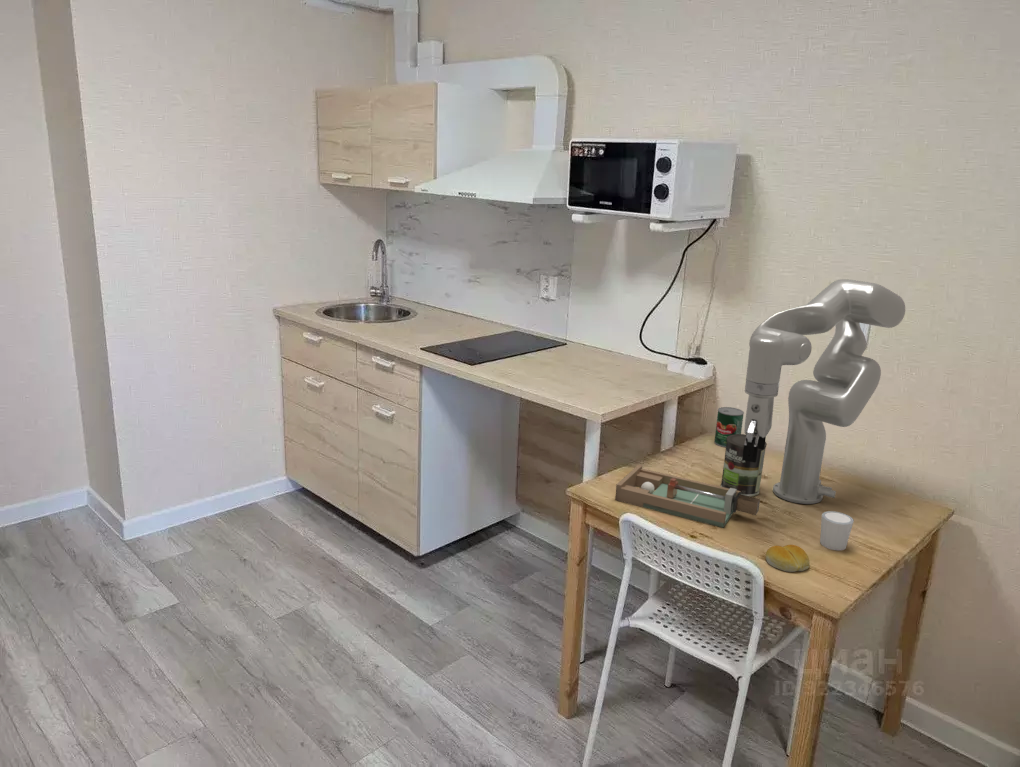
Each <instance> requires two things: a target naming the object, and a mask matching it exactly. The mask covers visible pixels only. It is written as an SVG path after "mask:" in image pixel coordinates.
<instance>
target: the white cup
mask: <svg viewBox="0 0 1020 767" xmlns="http://www.w3.org/2000/svg"><path fill="white" fill-rule="evenodd" d="M820 520H821V523H820V539H819V541H820V542H819V543H820V544H821V545H822V547H824V548H826V549H829V550H831V551H844V550H846V549H847V545H848V543H849V542H848V541H849V538H850V535H851V531H852V528H853V525H854V522H855V521H854V519H853V517H852V516H850V515H848V514H845V513H843V512H840V511H835V510H830V511H829V510H828V511H825V512H822V514H821V519H820Z"/></svg>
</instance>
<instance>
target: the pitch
mask: <svg viewBox="0 0 1020 767" xmlns="http://www.w3.org/2000/svg"><path fill="white" fill-rule="evenodd" d="M671 478H675V479H677V480H676V481H678V485H680V486H684V487H688V488H692V489H696V490H701V491H705V492H709V493H713V494H718V495H722V496H725V501H724V500H720V499H715V498H711V497H707V496H703V495H699V494H695V493H690V492H686V491H682V490H678V489H677V494H676V495H675V496H674V497H673V498H669V497H667V488H668V484H669V483H670V479H671ZM645 482H650V483H652V484H653V485H654V492H653V493H652V494H650V493H649V492H650V491H649V490H645V489H641V486H642V484H643V483H645ZM739 492H741V491H737V489H734V488H730V489H729V488H724V487H721V485H715V484H710V483H707V482H704V481H703V482H702V481H698V480H694V479H690V478H685V477H680V476H677V475H672V474H667V473H663V472H659V471H654V470H650V469H645V468H643V465H641V464H637V465H636V466H635V467H634V468H633V469H632V470H631V471H629V472H628V473H627V474H626V475H625V476H624V477H623V478H622V479H621V480H620V481H618V482H617V483H616V485H615V496H614V497H615V499H614V501H617V502H621V503H625V504H628V505H632V506H633V505H634V506H636V507H641V508H644V509H648V510H652V511H657V512H660V513H663V514H664V513H665V514H668V515H670V516H671V515H673V516H676V517H680V518H684V519H687V520H691V521H695V522H699V523H703V524H707V525H711V526H715V527H719V528H721V529H722V528H723V529H724V528H725V526H726V525H727V523H728V521H729V520H730V519H731V517H732V515H733V514H734V512H733V506H734V503H732V502H733V498H734V499H735V497H736V496H737V494H738V493H739Z"/></svg>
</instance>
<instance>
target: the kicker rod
mask: <svg viewBox="0 0 1020 767" xmlns="http://www.w3.org/2000/svg"><path fill="white" fill-rule="evenodd" d="M676 480H677V479H675V478H671V479H670V483H669V484H668V488H667V497H669V498H673V497H674V496H675V495H676V494H677V489H678V490H682V491H686V492H690V493H695V494H699V495H703V496H707V497H711V498H715V499H720V500H724V501H725V496H722V495H718V494H713V493H709V492H705V491H701V490H696V489H692V488H688V487H684V486H680V485H678V481H676ZM732 503H734V506H733V513H736V512H740V513H743V514H748V515H753V516H757V514H758V512H760V504H761V498H758V497H755V496H752V497H749V496H745V495H741V492H739V493H738V494H737V496H736V497H735V499H734V498H733V502H732Z"/></svg>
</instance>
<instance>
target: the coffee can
mask: <svg viewBox="0 0 1020 767" xmlns="http://www.w3.org/2000/svg"><path fill="white" fill-rule="evenodd" d="M745 439H746V434H745V433H743V434H742V433H741V434H734V435H730V436H728V437H727V439H726V441H727V444H726V447H725V453H724V462H723V468H722V469H723V470H722V476H721V482H720V487H724V488H729V489H730V488H734V489H737V491H741V495H745V496H749V497H755V496H758V495H759V494H760V488H761V482H762V475H763V467H764V461H765V455H766V448H767V445H768V444H767V441H765V447H764V449H758V453H757V461H756V462H755V463H754V462H749V461H744V460H743V459H742V457H743V449H744V444H745Z"/></svg>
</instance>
